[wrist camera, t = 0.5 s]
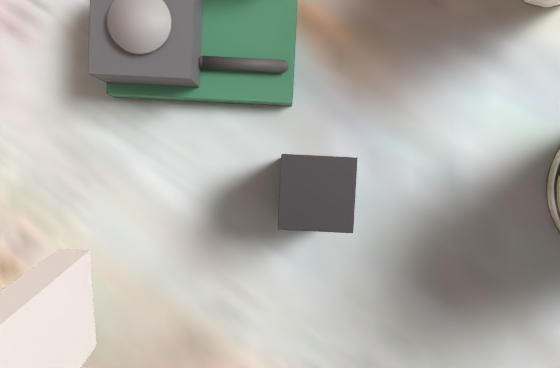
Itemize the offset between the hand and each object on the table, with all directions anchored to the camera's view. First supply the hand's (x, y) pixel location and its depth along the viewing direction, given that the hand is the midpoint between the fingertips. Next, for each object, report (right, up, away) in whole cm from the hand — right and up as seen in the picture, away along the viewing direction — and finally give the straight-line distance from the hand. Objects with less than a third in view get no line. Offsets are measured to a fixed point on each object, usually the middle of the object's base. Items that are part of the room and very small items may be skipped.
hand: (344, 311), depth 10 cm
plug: (0, +3, +17) cm, 17 cm away
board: (-6, +17, +16) cm, 25 cm away
